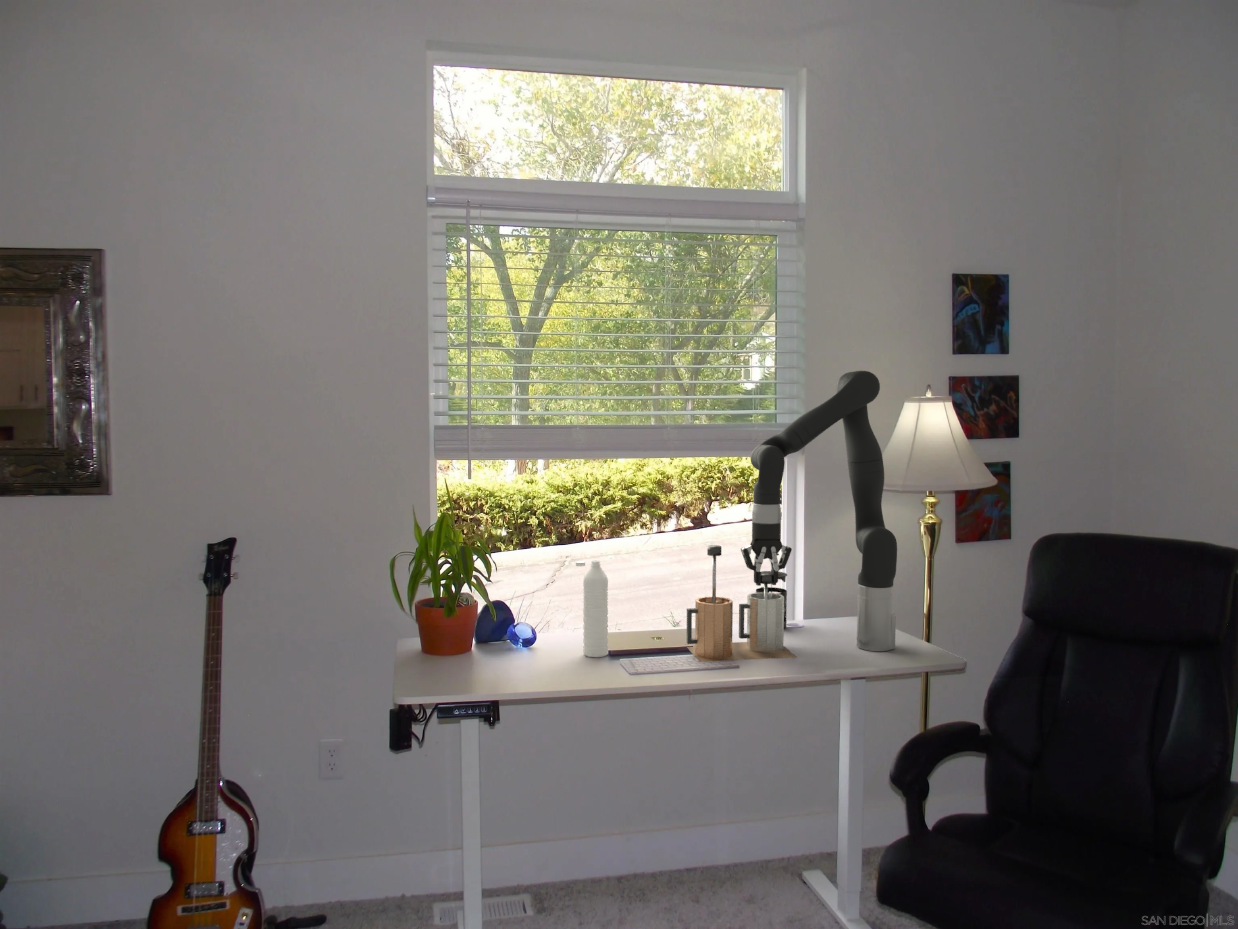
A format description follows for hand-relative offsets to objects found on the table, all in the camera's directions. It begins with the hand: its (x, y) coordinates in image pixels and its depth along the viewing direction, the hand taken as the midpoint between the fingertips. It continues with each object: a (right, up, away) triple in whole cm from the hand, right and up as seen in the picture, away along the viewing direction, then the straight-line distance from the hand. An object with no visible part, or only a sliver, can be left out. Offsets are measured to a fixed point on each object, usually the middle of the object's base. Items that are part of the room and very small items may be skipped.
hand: (765, 584), depth 231 cm
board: (-7, -18, -1) cm, 20 cm away
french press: (+5, -17, +24) cm, 30 cm away
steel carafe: (-1, -17, +1) cm, 17 cm away
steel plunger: (0, -14, +1) cm, 13 cm away
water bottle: (-46, -19, -1) cm, 50 cm away
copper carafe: (-16, -17, -4) cm, 24 cm away
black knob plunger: (-14, -5, -5) cm, 16 cm away
